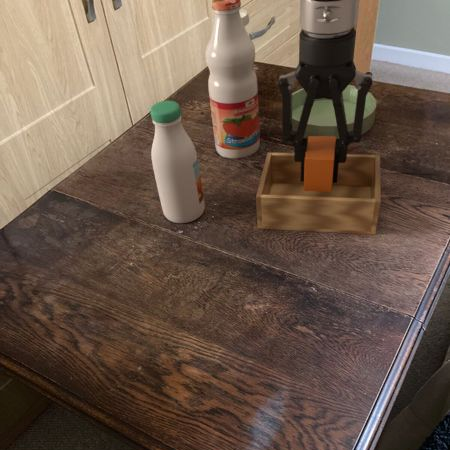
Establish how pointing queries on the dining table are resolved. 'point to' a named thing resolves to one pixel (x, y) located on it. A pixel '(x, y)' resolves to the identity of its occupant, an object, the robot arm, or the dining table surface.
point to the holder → (320, 197)
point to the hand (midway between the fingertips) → (319, 177)
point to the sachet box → (319, 163)
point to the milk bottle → (175, 165)
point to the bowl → (331, 113)
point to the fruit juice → (232, 83)
